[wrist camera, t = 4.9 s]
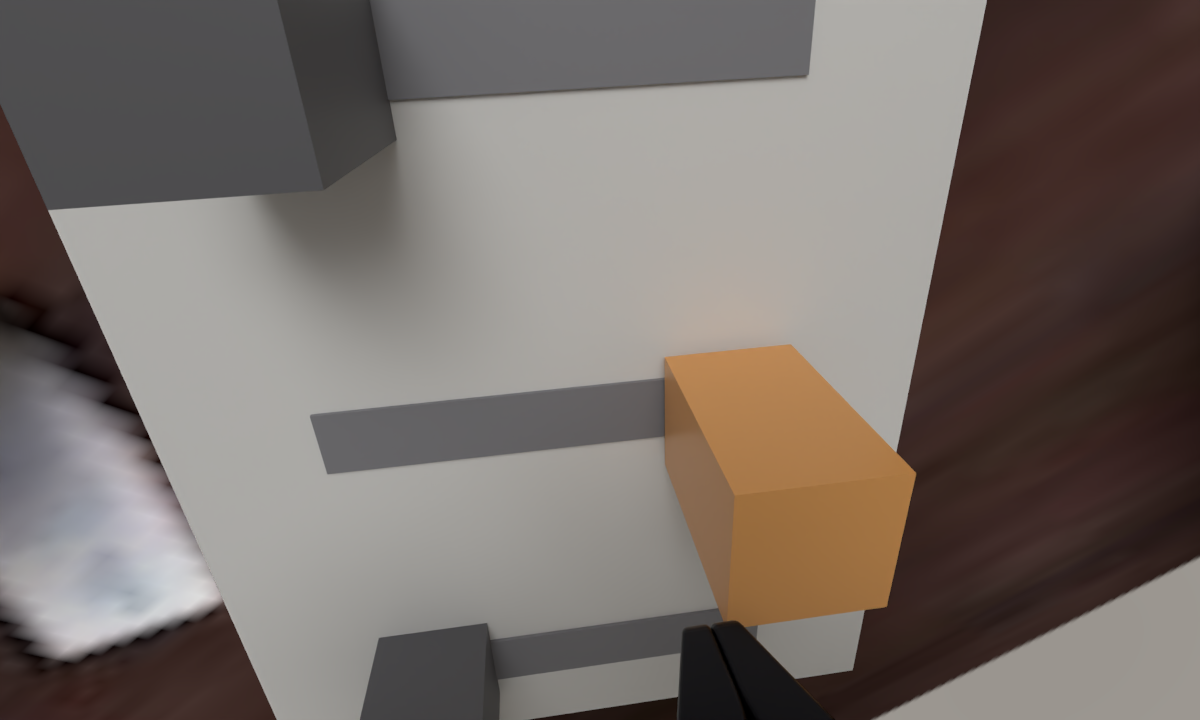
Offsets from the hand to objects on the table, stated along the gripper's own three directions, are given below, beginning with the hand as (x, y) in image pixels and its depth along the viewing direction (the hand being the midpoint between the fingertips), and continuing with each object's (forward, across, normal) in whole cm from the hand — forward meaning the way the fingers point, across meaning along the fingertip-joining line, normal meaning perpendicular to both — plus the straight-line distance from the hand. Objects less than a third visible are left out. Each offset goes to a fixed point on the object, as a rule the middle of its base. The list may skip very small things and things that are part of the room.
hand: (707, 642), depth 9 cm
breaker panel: (+9, +2, 0) cm, 9 cm away
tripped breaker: (+6, -2, 0) cm, 7 cm away
